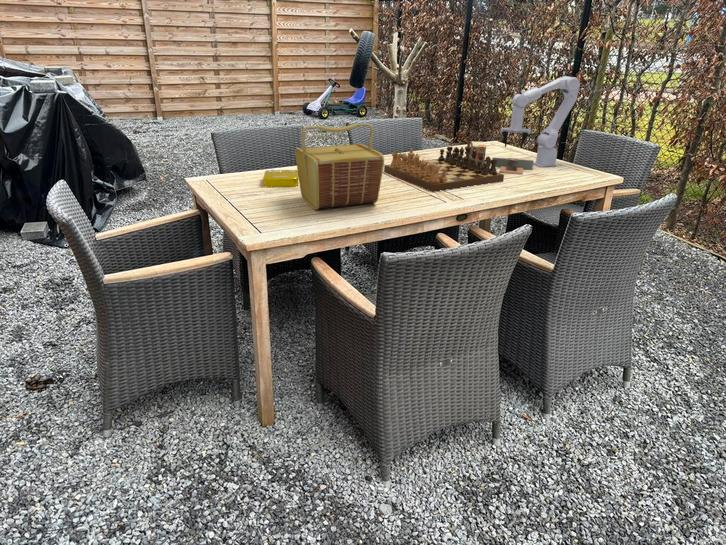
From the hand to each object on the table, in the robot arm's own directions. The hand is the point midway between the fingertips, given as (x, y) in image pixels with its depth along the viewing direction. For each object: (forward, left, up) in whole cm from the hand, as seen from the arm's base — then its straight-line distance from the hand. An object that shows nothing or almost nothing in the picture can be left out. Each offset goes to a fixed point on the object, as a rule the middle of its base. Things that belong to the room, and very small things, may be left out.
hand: (513, 147), depth 262 cm
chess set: (+44, +12, -10) cm, 47 cm away
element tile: (+120, +6, -10) cm, 120 cm away
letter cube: (+6, +11, -9) cm, 15 cm away
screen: (+3, +5, -9) cm, 11 cm away
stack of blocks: (+19, -4, -10) cm, 21 cm away
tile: (+6, +11, -9) cm, 16 cm away
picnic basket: (+102, +40, -10) cm, 110 cm away
